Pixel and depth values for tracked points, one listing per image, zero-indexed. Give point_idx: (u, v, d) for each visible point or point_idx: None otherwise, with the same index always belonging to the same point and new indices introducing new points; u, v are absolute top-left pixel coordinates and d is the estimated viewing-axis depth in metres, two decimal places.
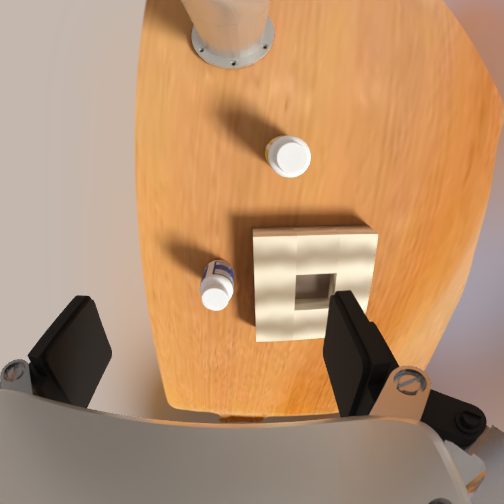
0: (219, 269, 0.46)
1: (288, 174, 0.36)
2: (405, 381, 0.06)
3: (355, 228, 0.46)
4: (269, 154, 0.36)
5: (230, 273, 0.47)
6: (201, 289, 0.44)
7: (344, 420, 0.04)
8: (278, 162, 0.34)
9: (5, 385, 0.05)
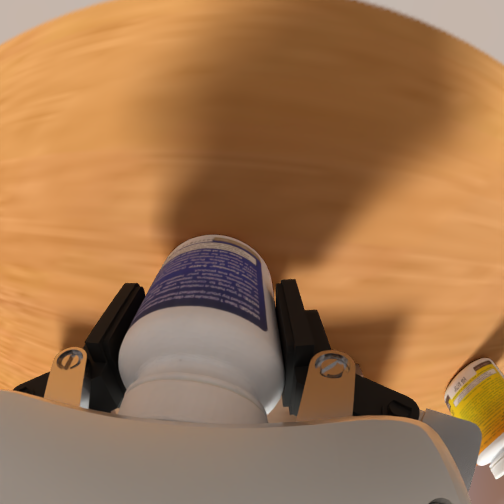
0: None
1: (491, 455, 0.10)
2: (327, 366, 0.07)
3: None
4: None
5: None
6: (208, 340, 0.07)
7: (344, 420, 0.04)
8: None
9: (61, 374, 0.06)
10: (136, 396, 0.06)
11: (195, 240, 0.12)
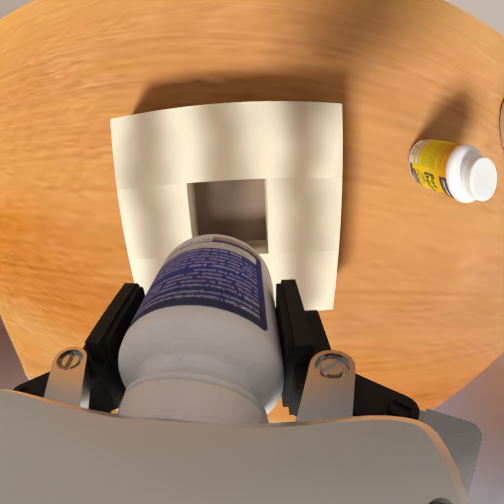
0: None
1: (454, 169, 0.20)
2: (327, 365, 0.07)
3: None
4: (473, 147, 0.19)
5: None
6: (208, 339, 0.07)
7: (344, 420, 0.04)
8: (482, 159, 0.17)
9: (61, 374, 0.06)
10: (136, 395, 0.06)
11: (195, 239, 0.12)
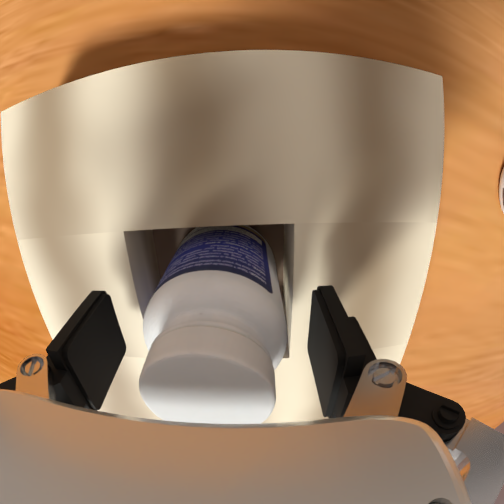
0: None
1: None
2: (380, 374, 0.06)
3: None
4: None
5: None
6: (225, 296, 0.09)
7: (344, 420, 0.04)
8: None
9: (23, 380, 0.06)
10: (164, 341, 0.07)
11: None
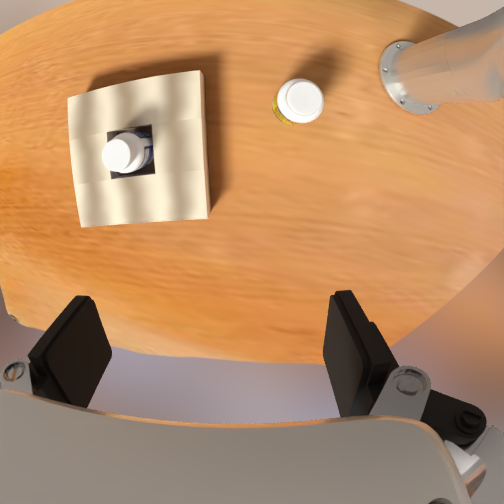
0: (148, 152, 0.35)
1: (281, 97, 0.29)
2: (405, 381, 0.06)
3: (208, 192, 0.40)
4: (303, 79, 0.29)
5: (143, 165, 0.36)
6: (126, 135, 0.31)
7: (344, 420, 0.04)
8: (299, 83, 0.27)
9: (5, 385, 0.05)
10: None
11: None
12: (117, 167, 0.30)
